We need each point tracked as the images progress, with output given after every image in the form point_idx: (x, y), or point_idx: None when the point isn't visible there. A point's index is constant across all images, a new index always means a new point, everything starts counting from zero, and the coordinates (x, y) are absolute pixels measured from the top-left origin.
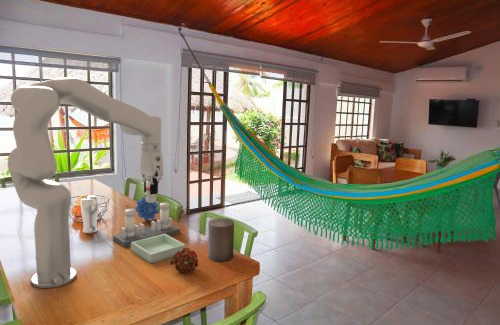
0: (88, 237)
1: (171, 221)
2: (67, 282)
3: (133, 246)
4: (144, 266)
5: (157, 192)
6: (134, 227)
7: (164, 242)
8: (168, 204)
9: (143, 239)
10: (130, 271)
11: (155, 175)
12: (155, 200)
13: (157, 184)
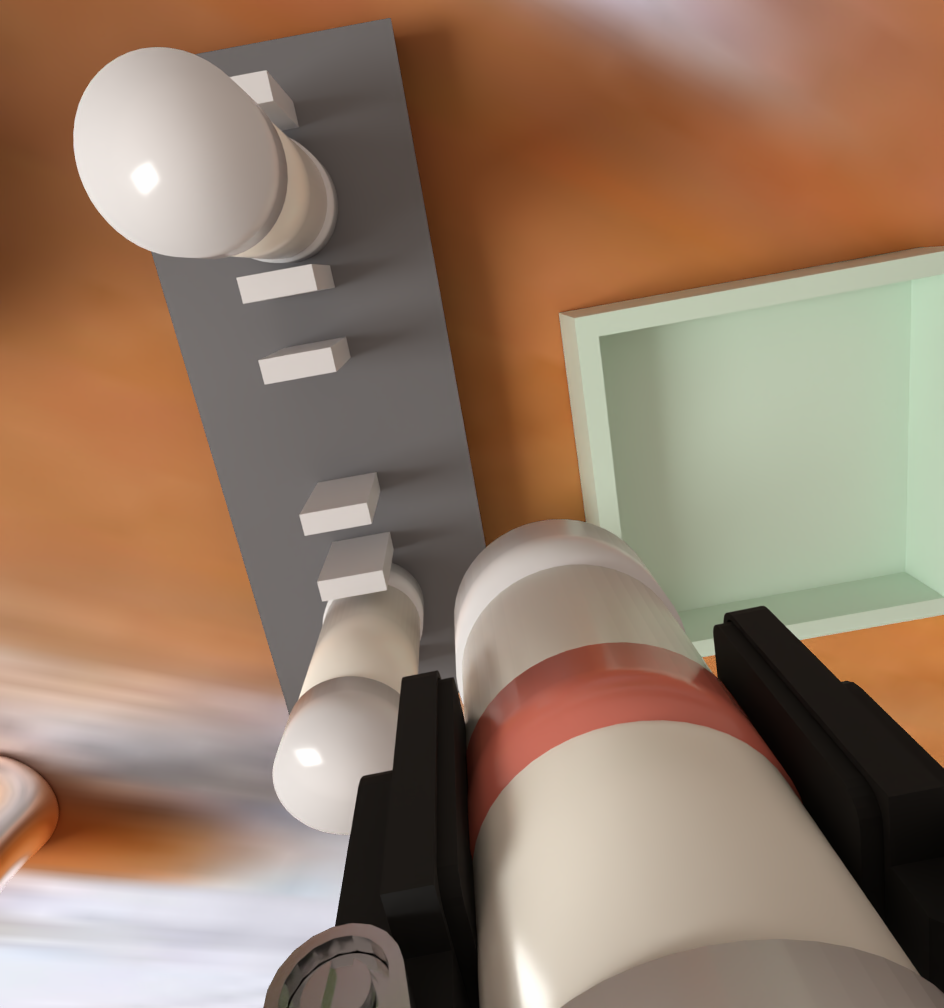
0: (160, 835)
1: (278, 90)
2: None
3: None
4: (916, 623)
5: (770, 623)
6: (400, 613)
7: (623, 343)
8: (244, 93)
9: None
10: (923, 716)
11: None
12: (642, 562)
13: (923, 786)
